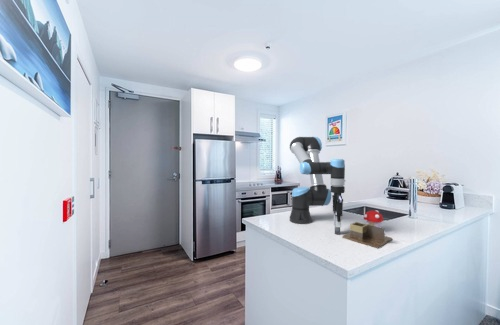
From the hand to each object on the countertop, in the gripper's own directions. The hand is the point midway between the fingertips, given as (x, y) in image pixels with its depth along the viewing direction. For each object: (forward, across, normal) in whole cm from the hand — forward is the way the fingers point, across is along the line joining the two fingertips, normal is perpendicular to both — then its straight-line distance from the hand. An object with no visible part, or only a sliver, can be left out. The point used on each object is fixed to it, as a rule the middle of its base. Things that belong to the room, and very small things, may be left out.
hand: (337, 226), depth 124 cm
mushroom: (+5, +9, -23) cm, 25 cm away
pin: (+5, 0, 0) cm, 5 cm away
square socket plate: (+5, -6, -14) cm, 16 cm away
